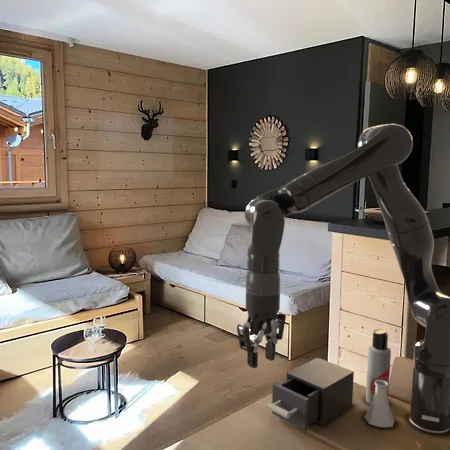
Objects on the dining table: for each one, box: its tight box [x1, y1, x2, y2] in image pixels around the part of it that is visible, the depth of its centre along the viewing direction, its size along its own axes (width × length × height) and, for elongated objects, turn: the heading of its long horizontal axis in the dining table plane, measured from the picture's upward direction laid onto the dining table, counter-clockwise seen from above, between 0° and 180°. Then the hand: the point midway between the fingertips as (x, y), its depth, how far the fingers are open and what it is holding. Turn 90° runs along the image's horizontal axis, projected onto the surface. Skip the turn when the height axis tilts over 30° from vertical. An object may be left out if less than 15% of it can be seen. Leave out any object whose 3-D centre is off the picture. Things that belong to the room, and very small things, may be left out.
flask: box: [364, 380, 395, 428], centre depth 113 cm, size 7×7×10 cm
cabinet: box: [285, 357, 355, 426], centre depth 119 cm, size 14×12×10 cm
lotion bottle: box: [365, 328, 392, 405], centre depth 121 cm, size 6×6×20 cm
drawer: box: [267, 378, 321, 432], centre depth 113 cm, size 17×10×8 cm, turn 133°
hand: (261, 362), depth 101 cm, fingers open, 5 cm apart
